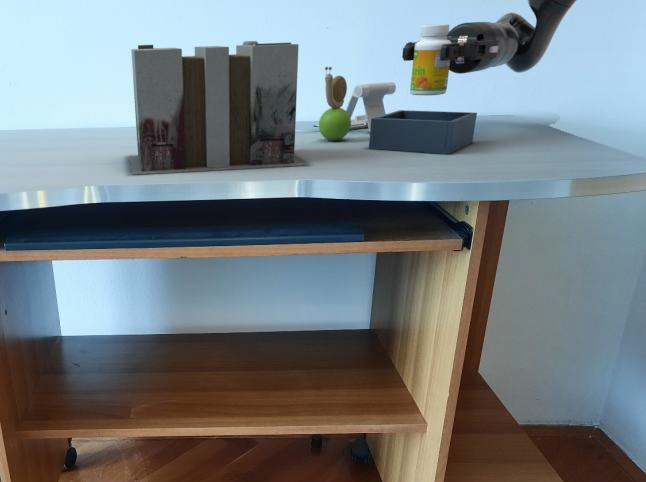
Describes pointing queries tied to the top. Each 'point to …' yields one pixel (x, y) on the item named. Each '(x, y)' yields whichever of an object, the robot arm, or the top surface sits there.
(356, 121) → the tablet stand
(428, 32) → the supplement bottle
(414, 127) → the bin
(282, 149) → the building model
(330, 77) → the snail figurine
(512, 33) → the robot arm
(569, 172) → the top surface
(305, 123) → the top surface
